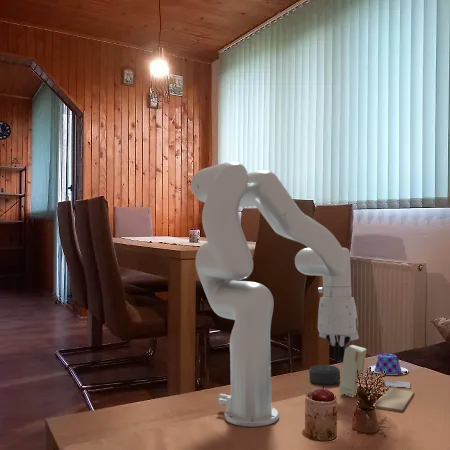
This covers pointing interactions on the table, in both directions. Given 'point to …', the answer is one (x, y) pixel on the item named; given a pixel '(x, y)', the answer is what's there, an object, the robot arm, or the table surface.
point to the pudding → (388, 364)
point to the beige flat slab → (394, 400)
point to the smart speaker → (324, 374)
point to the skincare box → (351, 369)
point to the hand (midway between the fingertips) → (339, 360)
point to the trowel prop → (396, 384)
